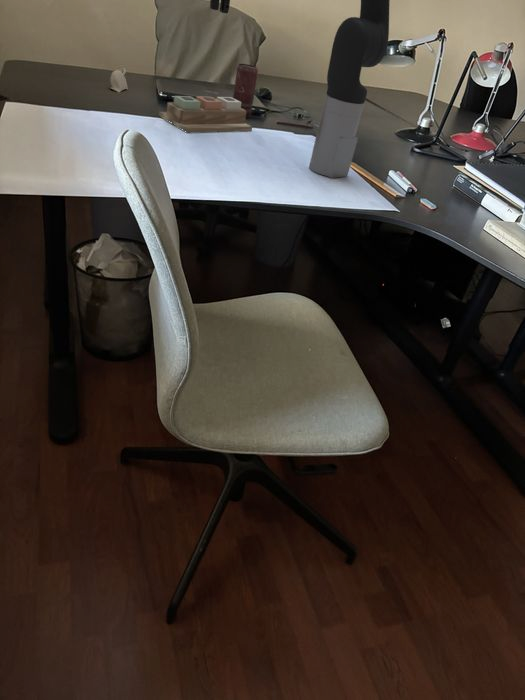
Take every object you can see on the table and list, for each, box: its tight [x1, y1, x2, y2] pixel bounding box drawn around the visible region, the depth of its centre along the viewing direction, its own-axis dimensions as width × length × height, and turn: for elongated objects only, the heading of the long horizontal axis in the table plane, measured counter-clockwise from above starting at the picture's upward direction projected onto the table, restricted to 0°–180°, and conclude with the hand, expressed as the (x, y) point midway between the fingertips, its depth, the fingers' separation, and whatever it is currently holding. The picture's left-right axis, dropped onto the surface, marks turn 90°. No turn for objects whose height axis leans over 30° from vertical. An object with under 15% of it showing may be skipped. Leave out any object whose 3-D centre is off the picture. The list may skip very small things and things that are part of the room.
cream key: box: [216, 96, 241, 110], centre depth 147 cm, size 5×5×3 cm
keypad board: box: [158, 101, 253, 133], centre depth 145 cm, size 14×22×4 cm, turn 130°
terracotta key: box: [195, 95, 222, 110], centre depth 143 cm, size 5×5×3 cm
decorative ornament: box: [109, 67, 129, 93], centre depth 158 cm, size 4×8×5 cm, turn 165°
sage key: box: [173, 95, 200, 110], centre depth 139 cm, size 5×5×3 cm
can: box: [232, 63, 259, 120], centre depth 156 cm, size 6×6×14 cm
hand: (218, 10), depth 130 cm, fingers open, 3 cm apart
